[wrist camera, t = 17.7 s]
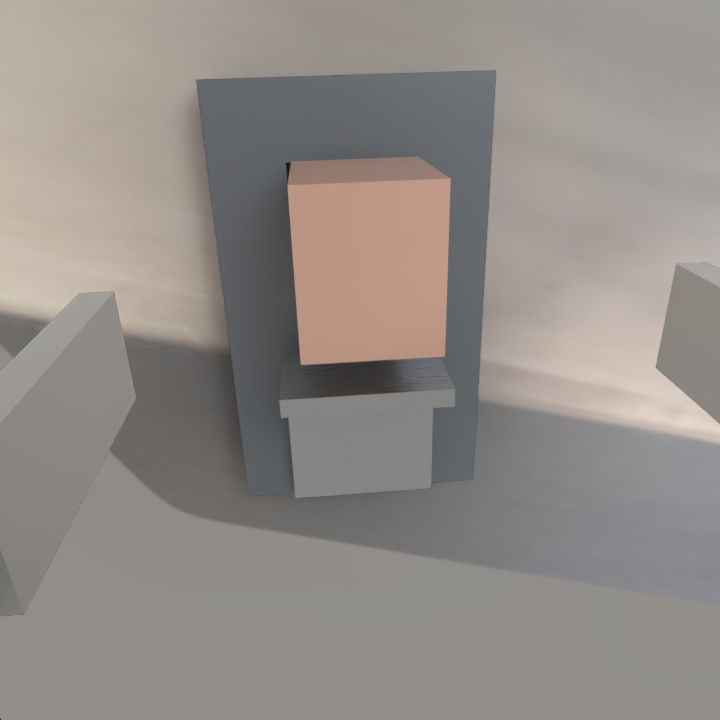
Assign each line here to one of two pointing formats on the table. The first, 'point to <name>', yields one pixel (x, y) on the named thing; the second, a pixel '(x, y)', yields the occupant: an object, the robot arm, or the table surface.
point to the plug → (369, 258)
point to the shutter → (362, 423)
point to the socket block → (273, 232)
